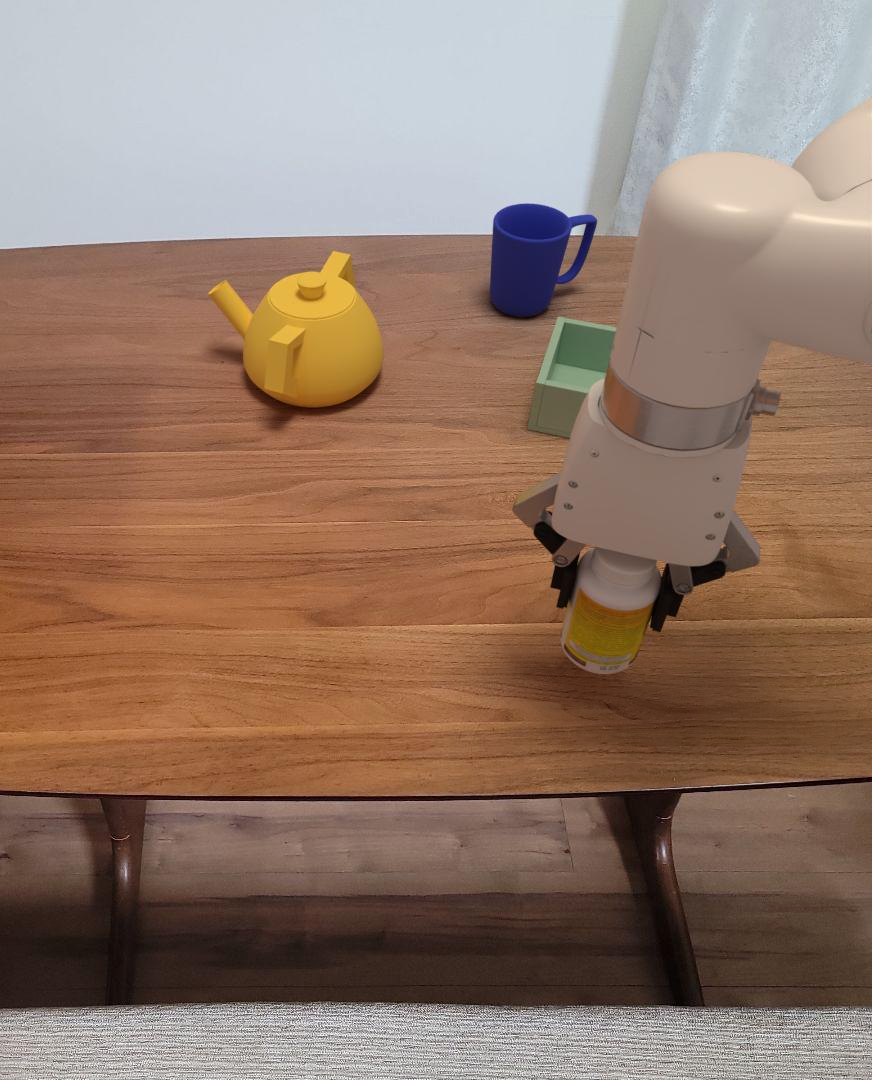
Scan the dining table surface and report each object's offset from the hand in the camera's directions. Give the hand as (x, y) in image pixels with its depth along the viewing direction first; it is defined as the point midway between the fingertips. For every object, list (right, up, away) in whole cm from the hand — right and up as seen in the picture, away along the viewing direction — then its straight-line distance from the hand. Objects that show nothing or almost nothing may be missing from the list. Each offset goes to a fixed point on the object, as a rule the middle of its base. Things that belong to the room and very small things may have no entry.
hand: (610, 602), depth 64 cm
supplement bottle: (0, -4, +4) cm, 5 cm away
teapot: (-23, +22, +33) cm, 46 cm away
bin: (+8, +18, +28) cm, 34 cm away
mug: (+4, +31, +42) cm, 52 cm away
